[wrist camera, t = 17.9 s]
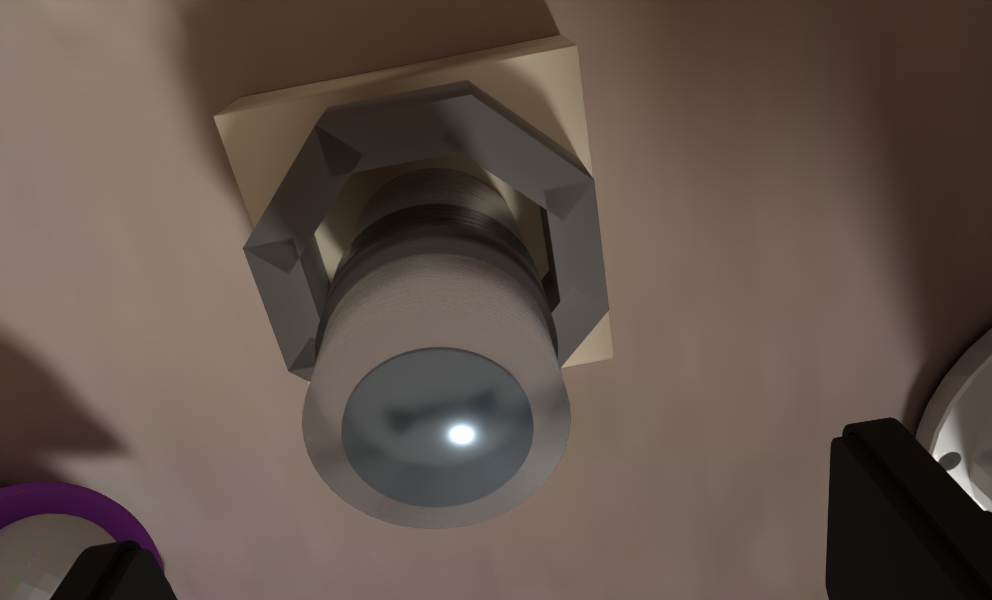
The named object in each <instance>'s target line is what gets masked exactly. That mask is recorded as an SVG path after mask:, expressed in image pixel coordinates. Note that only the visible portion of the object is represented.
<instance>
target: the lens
mask: <svg viewBox="0 0 992 600" xmlns="http://www.w3.org/2000/svg"><path fill="white" fill-rule="evenodd" d="M315 362H316V364H315V367H314V370H313V374H312V377H311V381H310V384H309V387H308V391H307V394H306V398H305V403H304V408H303V419H302V428H303V436H304V442H305V445H306V448H307V452H308V455H309V457H310V459H311V461H312V463H313V465H314V467H315V469H316V470H317V472H318V473H319V475H320V476H321V478H322V479H323V480H324V482H325V483H326V484H327V485H328V486H329V487H330V488H331V489H332V490H333V491H334V492H335V493H336V494H337V495H338V496H339V497H341V498H342V499H343V500H344V501H346V502H347V503H349V504H350V505H352V506H353V507H355V508H356V509H358V510H360V511H362V512H364V513H366V514H368V515H370V516H372V517H375V518H377V519H380V520H383V521H385V522H389V523H393V524H397V525H400V526H407V527H413V528H425V529H443V528H454V527H461V526H467V525H471V524H475V523H479V522H482V521H485V520H488V519H491V518H494V517H496V516H498V515H500V514H502V513H505V512H507V511H509V510H511V509H512V508H514V507H515V506H517V505H519V504H520V503H522V502H523V501H525V500H526V499H527V498H528V497H530V496H531V495H532V494H534V493H535V492H536V491H537V490H538V489H539V488H540V487H541V486H542V485H543V484H544V483H545V482H546V480H547V479H548V478H549V476H550V475H551V474H552V473H553V471H554V470H555V468H556V466H557V464H558V463H559V461H560V459H561V457H562V455H563V452H564V450H565V447H566V444H567V440H568V436H569V432H570V420H571V416H570V403H569V399H568V395H567V391H566V387H565V384H564V381H563V377H562V374H561V371H560V367H559V364H558V339H557V332H556V328H555V324H554V320H553V317H552V314H551V311H550V308H549V305H548V301H547V298H546V295H545V292H544V289H543V286H542V283H541V280H540V276H539V273H538V271H537V268H536V266H535V263H534V261H533V259H532V257H531V255H530V253H529V252H528V250H527V248H526V247H525V246H524V245H523V243H522V240H521V236H520V233H519V230H518V226H517V223H516V220H515V218H514V216H513V213H512V212H511V210H510V208H509V206H508V205H507V203H506V202H505V201H504V199H503V198H502V197H501V196H500V195H499V194H498V193H497V192H496V191H495V190H494V189H493V188H492V187H490V186H489V185H488V184H486V183H485V182H484V181H482V180H480V179H478V178H476V177H475V176H472V175H470V174H467V173H465V172H461V171H457V170H453V169H445V168H427V169H420V170H416V171H412V172H408V173H406V174H403V175H401V176H398V177H396V178H395V179H393V180H391V181H389V182H388V183H386V184H385V185H384V186H382V187H381V188H380V189H379V190H378V191H377V192H376V193H375V194H374V195H373V196H372V197H371V198H370V200H369V201H368V202H367V204H366V205H365V207H364V208H363V210H362V212H361V214H360V216H359V219H358V222H357V224H356V228H355V231H354V234H353V238H352V241H351V244H350V245H349V246H348V248H347V249H346V250H345V252H344V254H343V256H342V258H341V259H340V261H339V264H338V266H337V269H336V272H335V274H334V278H333V281H332V284H331V287H330V290H329V293H328V297H327V300H326V303H325V306H324V309H323V312H322V315H321V319H320V322H319V325H318V329H317V334H316V339H315Z"/></svg>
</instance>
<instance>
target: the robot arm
mask: <svg viewBox="0 0 992 600" xmlns="http://www.w3.org/2000/svg"><path fill="white" fill-rule="evenodd" d="M826 589H827V594H828V597H829V600H992V328H991V329H990V330H989V331H988V332H987V333H986V334H984V335H983V336H982V337H981V338H980V339H979V340H978V341H977V342H975V343H974V344H973V345H972V346H971V347H970V348H969V349H968V350H967V351H966V352H965V353H964V354H963V355H962V357H961V358H960V359H959V360H958V361H957V362H956V364H955V365H954V366H953V367H952V368H951V369H950V371H949V372H948V373H947V374H946V375H945V377H944V378H943V380H942V381H941V383H940V385H939V386H938V388H937V390H936V391H935V393H934V394H933V396H932V398H931V399H930V401H929V402H928V404H927V407H926V409H925V412H924V414H923V417H922V419H921V422H920V424H919V426H918V429H917V432H916V438H915V437H914V436H913V435H912V434H911V433H910V432H909V431H908V430H907V429H906V428H905V427H904V426H903V425H902V424H901V423H900V422H899V421H898V420H896V419H894V418H891V417H890V418H884V419H877V420H871V421H865V422H859V423H853V424H848V425H846V426H845V428H844V429H843V434H842V437H837V438H834V439H833V440H832V442H831V454H830V479H829V504H828V530H827V555H826ZM50 600H177V598H176V596H175V594H174V592H173V590H172V588H171V586H170V585H169V583H168V581H167V579H166V577H165V575H164V573H163V571H162V569H161V568H160V566H159V564H158V562H157V560H156V558H155V556H154V555H153V553H152V552H151V551H150V550H148V549H142V547H141V546H140V545H139V543H137V542H135V541H134V540H126V541H120V542H113V543H107V544H101V545H95V546H90V547H88V548H86V549H84V551H83V552H82V553H81V554H80V555H79V556H78V558H77V559H76V561H75V562H74V564H73V565H72V567H71V568H70V570H69V571H68V573H67V574H66V576H65V577H64V579H63V580H62V582H61V583H60V585H59V586H58V588H57V589H56V591H55V592H54V594H53V595H52V597H51V598H50Z"/></svg>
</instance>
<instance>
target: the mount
mask: <svg viewBox="0 0 992 600" xmlns="http://www.w3.org/2000/svg"><path fill="white" fill-rule="evenodd" d="M213 117H214V120H215V123H216V125H217V128H218V131H219V134H220V137H221V139H222V142H223V145H224V148H225V151H226V153H227V156H228V159H229V162H230V165H231V167H232V170H233V173H234V176H235V179H236V181H237V184H238V187H239V190H240V193H241V195H242V198H243V201H244V204H245V207H246V209H247V212H248V215H249V218H250V221H251V223H252V226H253V229H254V230H253V232H252V234H251V236H250V237H249V239H248V241H247V242H246V244H245V246H244V247H243V250H244V252H245V255H246V258H247V261H248V263H249V266H250V269H251V271H252V274H253V277H254V279H255V282H256V285H257V288H258V290H259V293H260V296H261V298H262V301H263V304H264V307H265V309H266V312H267V315H268V317H269V320H270V323H271V325H272V328H273V331H274V334H275V336H276V339H277V342H278V344H279V347H280V350H281V353H282V355H283V358H284V361H285V363H286V366H287V369H288V371H289V372H291V373H293V374H295V375H297V376H299V377H301V378H303V379H305V380H307V381H308V383H309V384H310V381H311V377H312V374H313V370H314V367H315V364H316V362H315V339H316V334H317V329H318V325H319V322H320V319H321V315H322V312H323V309H324V306H325V303H326V300H327V297H328V293H329V290H330V287H331V284H332V281H333V278H334V274H335V272H336V269H337V266H338V264H339V261H340V259H341V258H342V256H343V254H344V252H345V250H346V249H347V248H348V246H349V245H350V244H351V241H352V238H353V234H354V231H355V228H356V224H357V222H358V219H359V216H360V214H361V212H362V210H363V208H364V207H365V205H366V204H367V202H368V201H369V200H370V198H371V197H372V196H373V195H374V194H375V193H376V192H377V191H378V190H379V189H380V188H381V187H382V186H384V185H385V184H386V183H388V182H389V181H391V180H393V179H395V178H396V177H398V176H401V175H403V174H406V173H408V172H412V171H416V170H420V169H427V168H445V169H453V170H457V171H461V172H465V173H467V174H470V175H472V176H475V177H476V178H478V179H480V180H482V181H484V182H485V183H486V184H488V185H489V186H490V187H492V188H493V189H494V190H495V191H496V192H497V193H498V194H499V195H500V196H501V197H502V198H503V199H504V201H505V202H506V203H507V205H508V206H509V208H510V210H511V212H512V213H513V216H514V218H515V220H516V223H517V226H518V230H519V233H520V236H521V240H522V243H523V245H524V246H525V247H526V248H527V250H528V252H529V253H530V255H531V257H532V259H533V261H534V263H535V266H536V268H537V271H538V273H539V276H540V280H541V283H542V286H543V289H544V292H545V295H546V298H547V301H548V305H549V308H550V311H551V314H552V317H553V320H554V324H555V328H556V332H557V339H558V364H559V367H560V368H563V367H568V366H573V365H579V364H584V363H589V362H594V361H600V360H605V359H610V358H614V357H613V349H612V340H611V332H610V323H609V314H608V311H609V304H608V296H607V287H606V278H605V270H604V261H603V252H602V244H601V235H600V226H599V218H598V209H597V200H596V192H595V183H594V179H593V177H592V168H591V159H590V151H589V142H588V133H587V125H586V116H585V108H584V99H583V90H582V82H581V73H580V65H579V56H578V47H577V45H576V44H574V43H573V42H571V41H570V40H568V39H567V38H565V37H564V36H562V35H557V36H552V37H547V38H542V39H537V40H532V41H527V42H521V43H516V44H511V45H506V46H501V47H496V48H491V49H486V50H481V51H476V52H470V53H465V54H460V55H455V56H450V57H445V58H440V59H435V60H430V61H424V62H419V63H414V64H409V65H404V66H399V67H394V68H389V69H384V70H379V71H373V72H368V73H363V74H358V75H353V76H348V77H343V78H338V79H333V80H327V81H322V82H317V83H312V84H307V85H302V86H297V87H292V88H287V89H282V90H276V91H271V92H266V93H261V94H256V95H251V96H246V97H241V98H238V99H237V100H236V101H234V102H233V103H231V104H230V105H229V106H227V107H226V108H225V109H223V110H222V111H220V112H219V113H218V114H216V115H215V116H213Z"/></svg>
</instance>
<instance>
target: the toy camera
mask: <svg viewBox="0 0 992 600" xmlns="http://www.w3.org/2000/svg"><path fill="white" fill-rule="evenodd" d="M126 540H134V541H135V542H137V543H139V545H140V546H141V547H142V549H148V550H150V551H151V552H152V553H153V555H154V556H155V558H156V560H157V562H158V564H159V566H160V568H161V569H162V571H163V573H164V570H163V565H162V562H161V558H160V556H159V553H158V551H157V548H156V546H155V544H154V542H153V540H152V539H151V537H150V536H149V534H148V532H147V531H146V530H145V528H144V527H143V526H142V525H141V523H140V522H139V521H138V520H137V519H136V518H135V517H134V516H133V515H132V514H131V513H130V512H129V511H128V510H126V509H125V508H124V507H123V506H121V505H120V504H118V503H117V502H115V501H113V500H112V499H110V498H108V497H107V496H105V495H103V494H101V493H99V492H96V491H93V490H91V489H88V488H84V487H81V486H77V485H72V484H67V483H59V482H30V483H21V484H15V485H11V486H7V487H3V488H0V600H50V598H51V597H52V595H53V594H54V592H55V591H56V589H57V588H58V586H59V585H60V583H61V582H62V580H63V579H64V577H65V576H66V574H67V573H68V571H69V570H70V568H71V567H72V565H73V564H74V562H75V561H76V559H77V558H78V556H79V555H80V554H81V553H82V552H83V551H84V549H86V548H88V547H90V546H95V545H101V544H107V543H113V542H120V541H126ZM168 583H169V582H168ZM169 585H170V584H169Z"/></svg>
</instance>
